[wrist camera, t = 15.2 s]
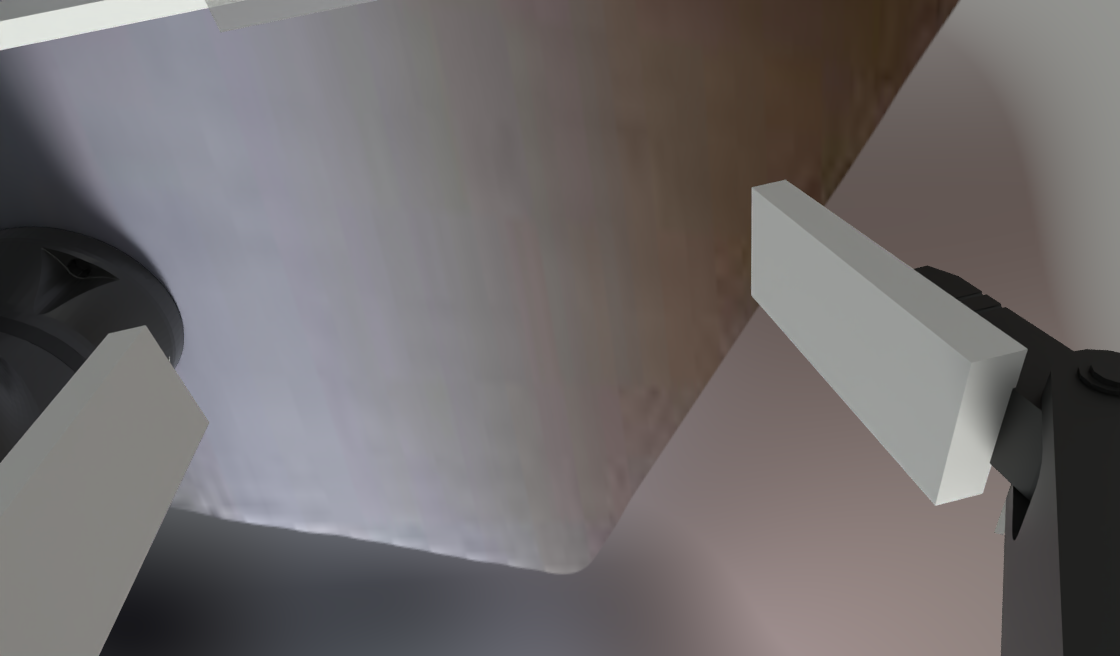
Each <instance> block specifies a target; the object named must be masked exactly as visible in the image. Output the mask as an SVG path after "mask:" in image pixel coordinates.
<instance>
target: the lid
mask: <svg viewBox="0 0 1120 656" xmlns="http://www.w3.org/2000/svg"><path fill="white" fill-rule="evenodd" d="M371 1H376V0H2V1H1V2H0V50H4V49H9V48H14V47H19V46H24V45H28V44H33V43H38V42H43V41H48V40H53V39H58V38H63V37H68V36H73V35H78V34H82V33H87V32H92V31H97V30H102V29H107V28H112V27H117V26H122V25H127V24H132V23H136V22H141V21H146V20H151V19H156V18H161V17H166V16H171V15H176V14H181V13H186V12H190V11H195V10H200V9H205V8H209V10H210V12H211V14H212V16H213V18H214V20H215V22H216V24H217V26H218V28H219V30H220V32H225V31H230V30H235V29H240V28H244V27H249V26H254V25H259V24H264V23H269V22H274V21H278V20H283V19H288V18H293V17H298V16H303V15H308V14H312V13H317V12H322V11H327V10H332V9H337V8H342V7H347V6H351V5H356V4H361V3H366V2H371Z"/></svg>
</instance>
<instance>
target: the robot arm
mask: <svg viewBox="0 0 1120 656" xmlns="http://www.w3.org/2000/svg"><path fill="white" fill-rule="evenodd" d="M751 295H752V297H753V298H754V299H755V300H756V301H757V302H758V303H759V305H760V306H761V307H762V308H763V309H764V310H765V311H766V313H767V314H768V315H769V316H770V317H771V318H772V319H773V320H774V322H775V323H776V324H777V325H778V326H779V327H780V328H781V330H782V331H783V332H784V333H785V334H786V335H787V336H788V338H789V339H790V340H791V341H792V342H793V343H794V345H795V346H796V347H797V348H798V349H799V350H800V351H801V353H802V354H803V355H804V356H805V357H806V358H807V359H808V360H809V362H810V363H811V364H812V365H813V366H814V367H815V369H816V370H817V371H818V372H819V373H820V374H821V375H822V377H823V378H824V379H825V380H826V381H827V382H828V383H829V385H830V386H831V387H832V388H833V389H834V390H835V391H836V392H837V394H838V395H839V396H840V397H841V398H842V400H843V401H844V402H845V403H846V404H847V405H848V406H849V407H850V409H851V410H852V411H853V412H854V413H855V414H856V416H857V417H858V418H859V419H860V420H861V421H862V422H863V424H864V425H865V426H866V427H867V428H868V429H869V430H870V432H871V433H872V434H873V435H874V436H875V437H876V438H877V439H878V440H879V442H880V443H881V444H882V445H883V446H884V448H885V449H886V450H887V451H888V452H889V453H890V454H891V456H892V457H893V458H894V459H895V460H896V461H897V462H898V464H899V465H900V466H901V467H902V468H903V469H904V470H905V472H906V473H907V474H908V475H909V476H910V477H911V478H912V480H913V481H914V482H915V483H916V484H917V485H918V487H919V488H920V489H921V490H922V491H923V492H924V493H925V494H926V496H927V497H928V498H929V499H930V500H931V501H932V503H933V504H934V505H935V506H936V505H940V504H944V503H947V502H951V501H955V500H959V499H963V498H967V497H971V496H975V495H979V494H982V493H983V491H984V487H985V484H986V481H987V478H988V475H989V471H990V468H991V465H992V466H993V467H994V468H995V469H996V470H998V471H999V472H1000V473H1001V474H1002V475H1003V476H1004V477H1005V478H1006V479H1007V480H1008V481H1009V482H1010V483H1011V486H1010V489H1009V492H1008V495H1007V498H1006V501H1005V503H1004V506H1003V509H1002V512H1001V515H1000V518H999V521H998V524H997V527H996V529H995V533H998V534H1002V535H1003V534H1004V532H1005V543H1004V544H1005V545H1004V577H1003V608H1002V638H1001V656H1120V353H1118V352H1114V351H1108V350H1088V349H1085V350H1080V351H1072V350H1071V349H1069V348H1068V347H1066V346H1065V345H1063V344H1062V343H1060V342H1059V341H1057V340H1056V339H1054V338H1053V337H1051V336H1049V335H1048V334H1046V333H1045V332H1043V331H1042V330H1040V329H1039V328H1037V327H1036V326H1034V325H1033V324H1031V323H1030V322H1028V321H1026V320H1025V319H1023V318H1022V317H1020V316H1019V315H1017V314H1016V313H1014V312H1013V311H1011V310H1010V309H1008V308H1006V307H1005V308H1002V307H1001V304H1000V303H999V302H997V301H996V300H994V299H993V298H991V297H990V296H988V295H982V291H980V290H979V289H977V288H976V287H974V286H973V285H971V284H970V283H968V282H967V281H965V280H963V279H962V278H960V277H959V276H956V275H953V274H950V273H948V272H945V271H942V270H939V269H936V268H933V267H930V266H924V267H920V268H916V269H912V268H911V267H910V266H908V265H907V264H905V263H903V262H902V261H901V260H900V259H898V258H897V257H895V256H894V255H892V254H891V253H889V252H888V251H886V250H885V249H884V248H882V247H881V246H879V245H878V244H877V243H875V242H873V241H872V240H871V239H869V238H868V237H867V236H865V235H864V234H862V233H861V232H859V231H858V230H857V229H855V228H854V227H852V226H851V225H849V224H848V223H846V222H845V221H844V220H842V219H841V218H839V217H838V216H836V215H835V214H834V213H832V212H831V211H829V210H828V209H827V208H825V207H824V206H822V205H821V204H819V203H818V202H817V201H815V200H814V199H812V198H811V197H809V196H808V195H806V194H805V193H804V192H802V191H801V190H799V189H798V188H796V187H795V186H794V185H792V184H791V183H789V182H788V181H786V180H783V181H778V182H774V183H770V184H765V185H761V186H756V187H752V255H751ZM183 345H184V331H183V325H182V321H181V317H180V315H179V312H178V310H177V307H176V305H175V304H174V302H173V300H172V298H171V297H170V295H169V294H168V292H167V291H166V290H165V288H164V287H163V286H162V285H161V283H160V282H159V281H158V280H157V279H156V278H155V277H154V276H153V275H152V274H151V273H150V272H149V271H148V270H146V269H145V268H144V267H143V266H142V265H140V264H139V263H138V262H136V261H135V260H133V259H132V258H131V257H129V256H127V255H126V254H124V253H123V252H121V251H119V250H117V249H116V248H114V247H112V246H110V245H107V244H105V243H103V242H101V241H98V240H96V239H93V238H90V237H88V236H84V235H81V234H78V233H74V232H70V231H65V230H60V229H53V228H44V227H19V228H11V229H5V230H1V231H0V656H99V654H100V652H101V650H102V648H103V645H104V643H105V641H106V639H107V637H108V635H109V633H110V631H111V628H112V626H113V624H114V622H115V620H116V618H117V616H118V614H119V612H120V610H121V608H122V605H123V603H124V601H125V599H126V597H127V595H128V593H129V590H130V589H131V586H132V584H133V582H134V580H135V578H136V576H137V574H138V572H139V570H140V567H141V565H142V563H143V561H144V559H145V557H146V555H147V553H148V551H149V549H150V546H151V544H152V542H153V540H154V538H155V536H156V534H157V532H158V530H159V527H160V525H161V523H162V521H163V519H164V517H165V515H166V513H167V511H168V509H169V506H170V504H171V502H172V500H173V498H174V496H175V494H176V492H177V490H178V487H179V485H180V483H181V481H182V479H183V477H184V475H185V473H186V471H187V468H188V466H189V464H190V462H191V460H192V458H193V456H194V454H195V452H196V450H197V447H198V445H199V443H200V441H201V439H202V437H203V435H204V433H205V431H206V428H207V426H208V424H209V422H208V420H207V419H206V417H205V416H204V414H203V412H202V411H201V409H200V408H199V406H198V405H197V403H196V402H195V400H194V399H193V397H192V396H191V394H190V393H189V391H188V389H187V388H186V386H185V385H184V383H183V382H182V380H181V379H180V377H179V376H178V374H177V373H176V371H175V367H176V366H177V364H178V362H179V360H180V357H181V354H182V351H183Z"/></svg>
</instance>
